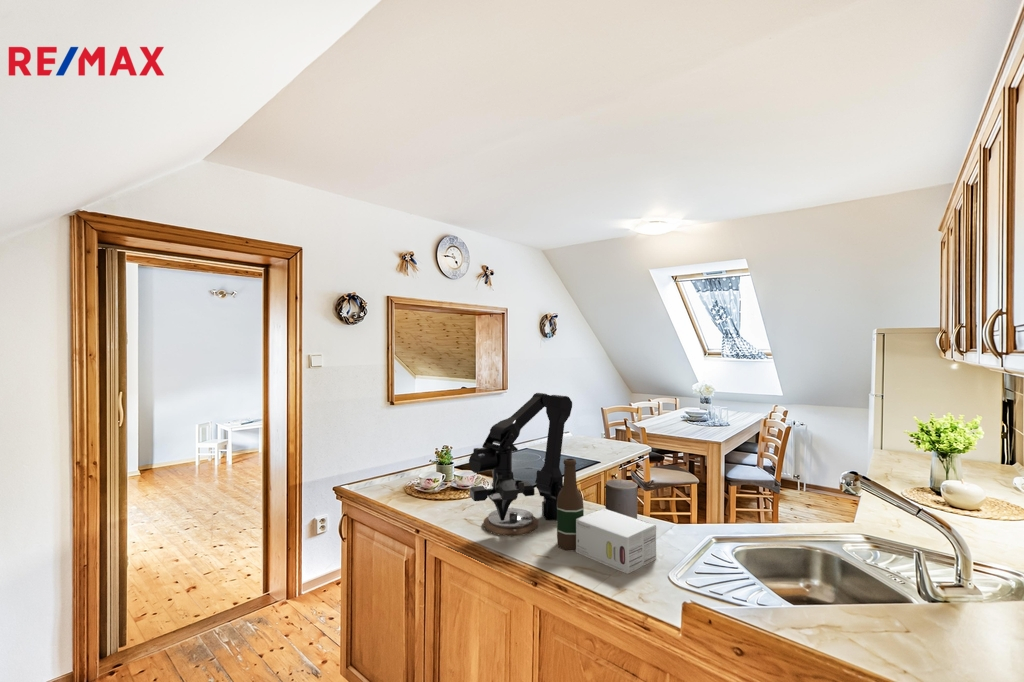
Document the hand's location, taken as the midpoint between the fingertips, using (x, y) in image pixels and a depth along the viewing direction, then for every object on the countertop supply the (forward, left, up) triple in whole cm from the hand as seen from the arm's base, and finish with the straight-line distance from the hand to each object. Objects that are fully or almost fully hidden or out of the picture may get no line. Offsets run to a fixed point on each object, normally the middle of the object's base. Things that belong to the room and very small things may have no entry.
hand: (502, 520), depth 144 cm
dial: (-4, -6, -2) cm, 8 cm away
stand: (-4, -6, -4) cm, 8 cm away
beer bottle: (-18, +12, -4) cm, 22 cm away
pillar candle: (-37, +2, -4) cm, 37 cm away
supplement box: (-28, +20, -4) cm, 34 cm away
